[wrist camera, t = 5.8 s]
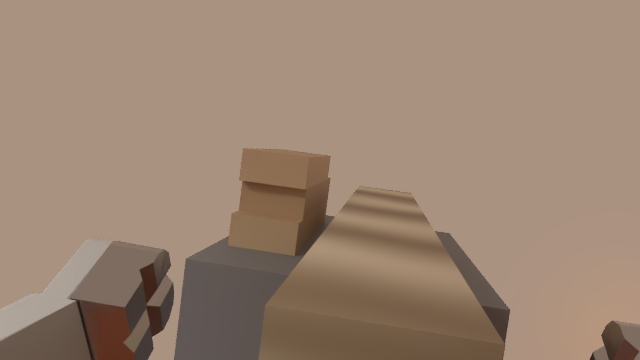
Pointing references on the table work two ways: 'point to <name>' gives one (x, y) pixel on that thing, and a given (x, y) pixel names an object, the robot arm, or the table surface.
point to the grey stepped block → (273, 257)
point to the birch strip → (377, 292)
